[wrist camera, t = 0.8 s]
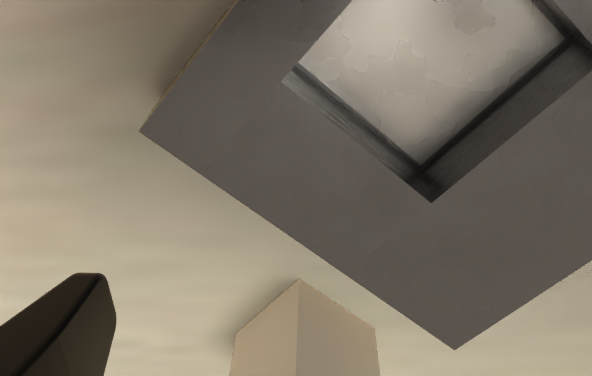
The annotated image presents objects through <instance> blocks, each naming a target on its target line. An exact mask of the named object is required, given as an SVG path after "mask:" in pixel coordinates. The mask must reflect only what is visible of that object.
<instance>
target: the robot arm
mask: <svg viewBox="0 0 592 376" xmlns="http://www.w3.org/2000/svg"><path fill="white" fill-rule="evenodd" d="M115 328H116V312H115V308H114V304H113V300H112V296H111V293H110V289H109V285H108V281H107V279H106V277H105V276H104V275H103V274H101V273H75V274H73V275H71V276H70V277H68V278H67V279H66V280H64V281H63V282H61V283H60V284H59V285H57V286H56V287H54V288H53V289H52V290H50V291H49V292H47V293H46V294H45V295H43V296H42V297H40V298H39V299H38V300H36V301H35V302H33V303H32V304H31V305H29V306H28V307H26V308H25V309H24V310H22V311H21V312H19V313H18V314H17V315H15V316H14V317H12V318H11V319H10V320H8V321H7V322H5V323H4V324H3V325H1V326H0V376H104V372H105V368H106V364H107V360H108V356H109V352H110V348H111V344H112V340H113V337H114V333H115Z"/></svg>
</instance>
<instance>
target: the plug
mask: <svg viewBox="0 0 592 376" xmlns="http://www.w3.org/2000/svg"><path fill="white" fill-rule="evenodd" d="M229 376H380V370H379V362H378V354H377V346H376V338H375V330H374V328H373V327H371V326H370V325H368V324H367V323H365V322H364V321H362V320H361V319H359V318H358V317H356V316H355V315H353V314H352V313H350V312H349V311H347V310H346V309H344V308H343V307H341V306H340V305H338V304H337V303H335V302H334V301H332V300H331V299H329V298H328V297H326V296H325V295H323V294H322V293H320V292H319V291H317V290H316V289H314V288H313V287H311V286H310V285H308V284H307V283H305V282H304V281H302V280H301V279H298V280H297V281H296V282H295V283H294V284H292V285H291V286H290V287H289V288H288V289H287V290H286V291H284V292H283V293H282V294H281V295H280V296H279V297H277V298H276V299H275V300H274V301H273V302H272V303H271V304H269V305H268V306H267V307H266V308H265V309H264V310H263V311H261V312H260V313H259V314H258V315H257V316H256V317H254V318H253V319H252V320H251V321H250V322H249V323H248V324H246V325H245V326H244V327H243V328H242V329H241V330H239V331H238V332H237V333H236V337H235V344H234V350H233V356H232V362H231V368H230V374H229Z"/></svg>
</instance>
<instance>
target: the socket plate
mask: <svg viewBox="0 0 592 376" xmlns="http://www.w3.org/2000/svg"><path fill="white" fill-rule="evenodd" d="M139 132H141V133H142V134H143V135H145V136H146V137H148V138H149V139H151V140H152V141H154V142H155V143H156V144H158V145H159V146H161V147H162V148H164V149H165V150H167V151H168V152H169V153H171V154H172V155H174V156H175V157H177V158H178V159H179V160H181V161H182V162H184V163H185V164H187V165H188V166H190V167H191V168H192V169H194V170H195V171H197V172H198V173H200V174H201V175H203V176H204V177H205V178H207V179H208V180H210V181H211V182H213V183H214V184H216V185H217V186H218V187H220V188H221V189H223V190H224V191H226V192H227V193H229V194H230V195H231V196H233V197H234V198H236V199H237V200H239V201H240V202H242V203H243V204H244V205H246V206H247V207H249V208H250V209H252V210H253V211H255V212H256V213H257V214H259V215H260V216H262V217H263V218H265V219H266V220H267V221H269V222H270V223H272V224H273V225H275V226H276V227H278V228H279V229H280V230H282V231H283V232H285V233H286V234H288V235H289V236H291V237H292V238H293V239H295V240H296V241H298V242H299V243H301V244H302V245H304V246H305V247H306V248H308V249H309V250H311V251H312V252H314V253H315V254H317V255H318V256H319V257H321V258H322V259H324V260H325V261H327V262H328V263H330V264H331V265H332V266H334V267H335V268H337V269H338V270H340V271H341V272H343V273H344V274H345V275H347V276H348V277H350V278H351V279H353V280H354V281H355V282H357V283H358V284H360V285H361V286H363V287H364V288H366V289H367V290H368V291H370V292H371V293H373V294H374V295H376V296H377V297H379V298H380V299H381V300H383V301H384V302H386V303H387V304H389V305H390V306H392V307H393V308H394V309H396V310H397V311H399V312H400V313H402V314H403V315H405V316H406V317H407V318H409V319H410V320H412V321H413V322H415V323H416V324H418V325H419V326H420V327H422V328H423V329H425V330H426V331H428V332H429V333H431V334H432V335H433V336H435V337H436V338H438V339H439V340H441V341H442V342H443V343H445V344H446V345H448V346H449V347H451V348H452V349H454V350H456V349H457V348H459V347H460V346H462V345H463V344H465V343H466V342H468V341H469V340H471V339H472V338H474V337H475V336H477V335H478V334H480V333H481V332H483V331H485V330H486V329H488V328H489V327H491V326H492V325H494V324H495V323H497V322H498V321H500V320H501V319H503V318H504V317H506V316H507V315H509V314H510V313H512V312H514V311H515V310H517V309H518V308H520V307H521V306H523V305H524V304H526V303H527V302H529V301H530V300H532V299H533V298H535V297H536V296H538V295H539V294H541V293H543V292H544V291H546V290H547V289H549V288H550V287H552V286H553V285H555V284H556V283H558V282H559V281H561V280H562V279H564V278H565V277H567V276H568V275H570V274H572V273H573V272H575V271H576V270H578V269H579V268H581V267H582V266H584V265H585V264H587V263H588V262H590V261H591V260H592V0H234V2H233V3H232V4H231V6H230V7H229V8H228V10H227V11H226V12H225V14H224V15H223V16H222V17H221V19H220V20H219V21H218V23H217V24H216V25H215V27H214V28H213V29H212V31H211V32H210V33H209V35H208V36H207V37H206V39H205V40H204V41H203V42H202V44H201V45H200V46H199V48H198V49H197V50H196V52H195V53H194V54H193V56H192V57H191V58H190V60H189V61H188V62H187V63H186V65H185V66H184V67H183V69H182V70H181V71H180V73H179V74H178V75H177V77H176V78H175V79H174V81H173V82H172V83H171V85H170V86H169V87H168V88H167V90H166V91H165V92H164V94H163V95H162V96H161V98H160V99H159V101H158V102H157V104H156V106H155V107H154V109H153V110H152V112H151V113H150V115H149V116H148V118H147V120H146V121H145V123H144V124H143V126H142V127H141V129H140V130H139Z"/></svg>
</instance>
